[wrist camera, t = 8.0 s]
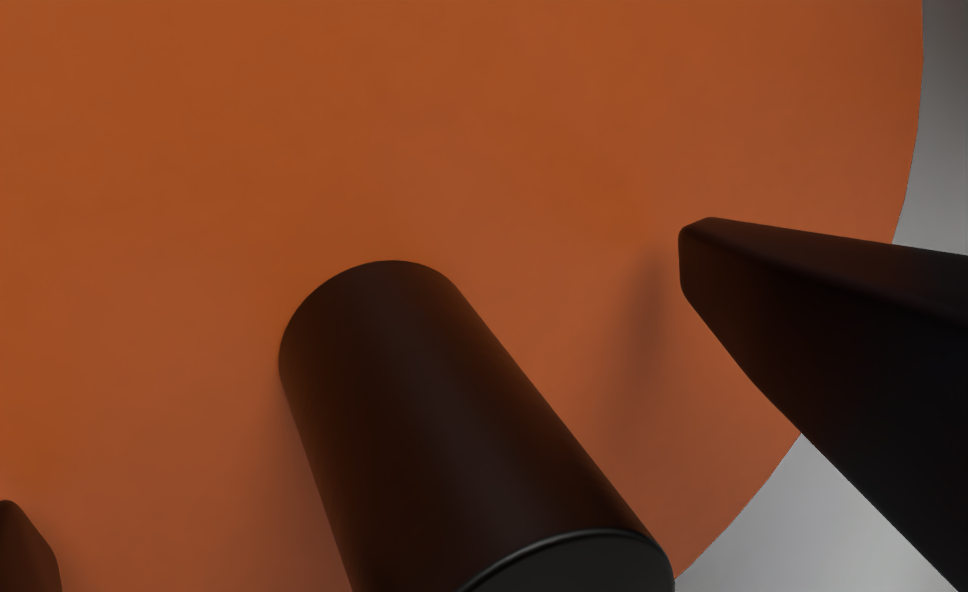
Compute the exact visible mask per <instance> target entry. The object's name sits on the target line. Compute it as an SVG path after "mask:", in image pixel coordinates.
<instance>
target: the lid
mask: <svg viewBox="0 0 968 592" xmlns="http://www.w3.org/2000/svg"><path fill="white" fill-rule="evenodd" d="M923 60H924V56H923V17H922V0H0V501H1V500H11V501H13V502H15V503H16V504H17V505H19V507H20V508H21V509H22V510H23V512H24V513H25V514H26V515H27V517H28V518H29V519H30V521H31V522H32V523H33V525H34V526H35V527H36V529H37V530H38V531H39V532H40V534H41V535H42V536H43V538H44V539H45V540H46V542H47V543H48V544H49V546H50V547H51V549H52V550H53V552H54V554H55V557H56V559H57V563H58V566H59V572H60V578H61V585H62V592H675V582H674V580H675V579H676V578H677V577H678V576H679V575H680V574H681V573H682V572H684V571H685V570H686V569H687V568H688V567H689V566H690V565H691V564H692V563H693V562H694V561H695V560H696V559H697V558H698V557H699V556H700V555H701V554H702V553H703V552H704V551H705V550H706V549H707V548H708V547H709V546H710V545H711V544H712V542H713V541H714V540H715V539H716V538H717V537H718V536H719V535H720V534H721V533H722V532H723V531H724V530H725V529H726V528H727V527H728V526H729V525H730V524H731V523H732V522H733V520H734V519H735V518H736V517H737V516H738V514H739V513H740V512H741V511H742V510H743V508H744V507H745V506H746V505H747V504H748V502H749V501H750V500H751V499H752V498H753V496H754V495H755V494H756V493H757V492H758V491H759V489H760V488H761V487H762V486H763V485H764V483H765V482H766V481H767V480H768V479H769V477H770V476H771V474H772V473H773V472H774V470H775V469H776V467H777V466H778V465H779V463H780V462H781V460H782V459H783V458H784V456H785V455H786V453H787V452H788V451H789V449H790V448H791V447H792V445H793V444H794V442H795V441H796V440H797V438H798V437H799V435H800V434H801V432H800V431H799V430H798V429H797V428H796V427H795V426H794V425H793V424H792V423H791V422H790V421H789V420H788V419H787V418H786V417H785V416H784V415H783V414H782V413H781V412H780V411H779V410H778V409H777V408H776V407H775V406H774V405H773V404H772V403H771V402H770V401H769V399H768V398H767V397H766V396H765V395H764V394H763V393H762V392H761V391H760V390H759V389H758V388H757V387H756V386H755V385H754V384H753V382H752V381H751V380H750V379H749V378H748V377H747V375H746V374H745V373H744V372H743V371H742V369H741V368H740V367H739V366H738V364H737V363H736V362H735V361H734V359H733V358H732V357H731V355H730V354H729V353H728V352H727V350H726V349H725V348H724V347H723V345H722V344H721V343H720V341H719V340H718V339H717V338H716V336H715V335H714V334H713V333H712V331H711V330H710V329H709V328H708V326H707V325H706V324H705V322H704V321H703V320H702V319H701V317H700V316H699V315H698V314H697V312H696V311H695V310H694V308H693V307H692V306H691V305H690V303H689V302H688V301H687V299H686V298H685V296H684V294H683V291H682V289H681V285H680V274H679V254H678V235H679V232H680V230H681V229H682V228H683V227H684V226H686V225H689V224H691V223H694V222H696V221H699V220H701V219H703V218H706V217H717V218H723V219H730V220H736V221H743V222H750V223H756V224H763V225H769V226H776V227H782V228H789V229H796V230H802V231H809V232H815V233H822V234H829V235H835V236H842V237H848V238H855V239H861V240H868V241H875V242H881V243H888V244H892V240H893V237H894V234H895V230H896V227H897V223H898V220H899V216H900V213H901V210H902V206H903V203H904V199H905V194H906V189H907V184H908V178H909V173H910V168H911V163H912V157H913V152H914V147H915V141H916V136H917V131H918V119H919V107H920V95H921V83H922V72H923Z"/></svg>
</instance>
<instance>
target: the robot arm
mask: <svg viewBox="0 0 968 592" xmlns="http://www.w3.org/2000/svg"><path fill="white" fill-rule="evenodd" d="M678 254H679V274H680V285H681V289H682V291H683V294H684V296H685V298H686V299H687V301H688V302H689V303H690V305H691V306H692V307H693V308H694V310H695V311H696V312H697V314H698V315H699V316H700V317H701V319H702V320H703V321H704V322H705V324H706V325H707V326H708V328H709V329H710V330H711V331H712V333H713V334H714V335H715V336H716V338H717V339H718V340H719V341H720V343H721V344H722V345H723V347H724V348H725V349H726V350H727V352H728V353H729V354H730V355H731V357H732V358H733V359H734V361H735V362H736V363H737V364H738V366H739V367H740V368H741V369H742V371H743V372H744V373H745V374H746V375H747V377H748V378H749V379H750V380H751V381H752V382H753V384H754V385H755V386H756V387H757V388H758V389H759V390H760V391H761V392H762V393H763V394H764V395H765V396H766V397H767V398H768V399H769V401H770V402H771V403H772V404H773V405H774V406H775V407H776V408H777V409H778V410H779V411H780V412H781V413H782V414H783V415H784V416H785V417H786V418H787V419H788V420H789V421H790V422H791V423H792V424H793V425H794V426H795V427H796V428H797V429H798V430H799V431H800V432H801V433H802V434H803V435H804V436H805V437H806V438H807V439H808V440H809V441H810V442H811V443H812V444H813V445H814V446H815V447H816V448H817V449H818V450H819V451H820V452H821V453H822V454H823V455H824V456H825V457H826V458H827V459H828V460H829V461H830V462H831V463H832V464H833V465H834V466H835V467H836V468H837V469H838V470H839V471H840V472H841V473H842V474H843V475H844V476H845V477H846V478H847V480H848V481H849V482H850V483H851V484H852V485H853V486H854V487H855V488H856V489H857V490H858V491H859V492H860V493H861V494H862V495H863V496H864V497H865V498H866V499H867V500H868V501H869V502H870V503H871V504H872V505H873V506H874V507H875V508H876V509H877V510H878V511H879V512H880V513H881V514H882V515H883V516H884V517H885V518H886V519H887V520H888V521H889V522H890V523H891V524H892V525H893V526H894V527H895V528H896V529H897V530H898V531H899V532H900V533H901V534H902V535H903V536H904V537H905V538H906V539H907V540H908V541H909V542H910V543H911V544H912V545H913V546H914V547H915V548H916V549H917V550H918V551H919V552H920V553H921V554H922V555H923V556H924V558H925V559H926V560H927V561H928V562H929V563H930V564H931V565H932V566H933V567H934V568H935V569H936V570H937V571H938V572H939V573H940V574H941V575H942V576H943V577H944V578H945V579H946V580H947V581H948V582H949V583H950V584H951V585H952V586H953V587H954V588H955V589H956V590H957V591H958V592H968V256H967V255H960V254H954V253H947V252H941V251H934V250H927V249H921V248H914V247H908V246H901V245H894V244H888V243H881V242H875V241H868V240H861V239H855V238H848V237H842V236H835V235H829V234H822V233H815V232H809V231H802V230H796V229H789V228H782V227H776V226H769V225H763V224H756V223H750V222H743V221H736V220H730V219H723V218H717V217H706V218H703V219H701V220H699V221H696V222H694V223H691V224H689V225H686V226H684V227H683V228H682V229H681V230H680V232H679V235H678ZM0 592H62V585H61V578H60V572H59V566H58V563H57V559H56V557H55V554H54V552H53V550H52V549H51V547H50V546H49V544H48V543H47V542H46V540H45V539H44V538H43V536H42V535H41V534H40V532H39V531H38V530H37V529H36V527H35V526H34V525H33V523H32V522H31V521H30V519H29V518H28V517H27V515H26V514H25V513H24V512H23V510H22V509H21V508H20V507H19V505H17V504H16V503H15V502H13V501H11V500H1V501H0Z"/></svg>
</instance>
